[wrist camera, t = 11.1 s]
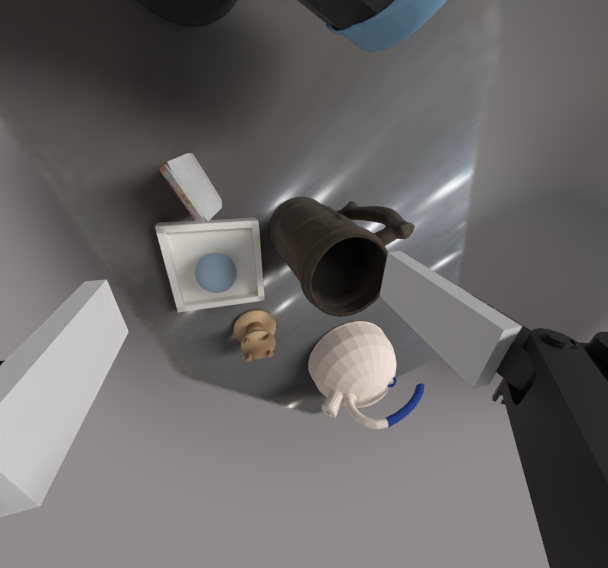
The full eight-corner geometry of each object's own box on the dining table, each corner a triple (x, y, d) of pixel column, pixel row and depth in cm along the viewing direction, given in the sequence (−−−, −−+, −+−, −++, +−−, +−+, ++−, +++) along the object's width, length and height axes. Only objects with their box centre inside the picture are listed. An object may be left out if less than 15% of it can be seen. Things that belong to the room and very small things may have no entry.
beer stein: (293, 273, 46) (344, 338, 28) (251, 231, 40) (285, 280, 23) (354, 215, 45) (445, 245, 28) (321, 164, 39) (409, 162, 22)
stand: (224, 331, 47) (225, 356, 41) (252, 302, 46) (256, 322, 40) (257, 349, 51) (261, 373, 45) (283, 322, 50) (291, 343, 44)
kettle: (299, 338, 53) (330, 413, 38) (385, 309, 57) (446, 367, 41) (313, 397, 63) (342, 475, 48) (385, 369, 67) (434, 434, 51)
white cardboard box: (192, 153, 33) (182, 153, 25) (221, 200, 37) (221, 214, 28) (168, 166, 33) (149, 170, 25) (199, 212, 37) (192, 230, 28)
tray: (158, 222, 36) (154, 226, 34) (256, 217, 39) (258, 220, 37) (179, 305, 42) (178, 312, 40) (262, 294, 46) (264, 300, 44)
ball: (193, 249, 38) (188, 263, 33) (233, 245, 39) (235, 259, 34) (200, 284, 41) (196, 302, 36) (238, 279, 42) (239, 297, 37)
